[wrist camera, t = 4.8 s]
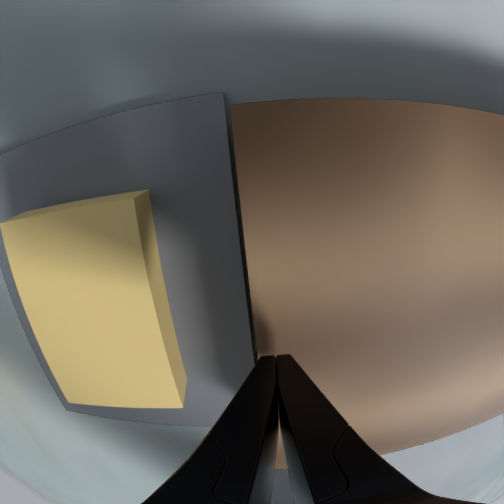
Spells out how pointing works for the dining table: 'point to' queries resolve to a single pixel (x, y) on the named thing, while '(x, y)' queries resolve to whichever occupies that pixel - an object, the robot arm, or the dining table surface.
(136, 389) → the yellow rectangular block
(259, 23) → the dining table surface
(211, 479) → the robot arm
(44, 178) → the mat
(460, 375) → the brown wooden flat block
